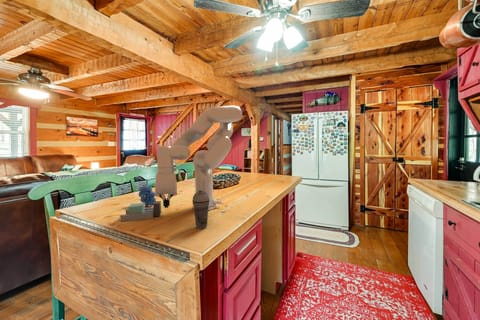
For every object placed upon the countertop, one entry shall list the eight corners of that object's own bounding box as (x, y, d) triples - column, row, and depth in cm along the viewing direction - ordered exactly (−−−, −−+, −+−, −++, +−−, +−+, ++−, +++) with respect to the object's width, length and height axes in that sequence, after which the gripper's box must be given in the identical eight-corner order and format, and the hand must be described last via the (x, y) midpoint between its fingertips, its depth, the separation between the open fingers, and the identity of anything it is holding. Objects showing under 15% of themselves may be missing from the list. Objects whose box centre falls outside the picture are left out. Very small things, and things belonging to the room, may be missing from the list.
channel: (156, 212, 118) (155, 207, 117) (152, 218, 107) (152, 213, 107) (126, 214, 115) (126, 209, 114) (120, 221, 104) (120, 215, 104)
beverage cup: (193, 224, 100) (192, 179, 98) (210, 223, 101) (209, 178, 99) (191, 230, 93) (190, 182, 91) (209, 230, 93) (209, 181, 92)
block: (144, 214, 114) (144, 202, 114) (142, 218, 108) (141, 206, 108) (131, 215, 113) (131, 203, 113) (128, 219, 107) (128, 206, 107)
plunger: (161, 212, 115) (161, 200, 115) (160, 215, 111) (159, 203, 110) (145, 213, 114) (145, 201, 113) (143, 216, 109) (143, 204, 109)
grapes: (133, 207, 127) (132, 186, 126) (142, 204, 134) (141, 183, 133) (150, 209, 123) (149, 187, 122) (158, 205, 130) (158, 185, 129)
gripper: (181, 169, 117) (182, 204, 119) (150, 170, 114) (151, 206, 115) (181, 171, 110) (181, 208, 111) (148, 172, 107) (149, 210, 108)
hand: (166, 207), depth 113 cm, fingers closed
